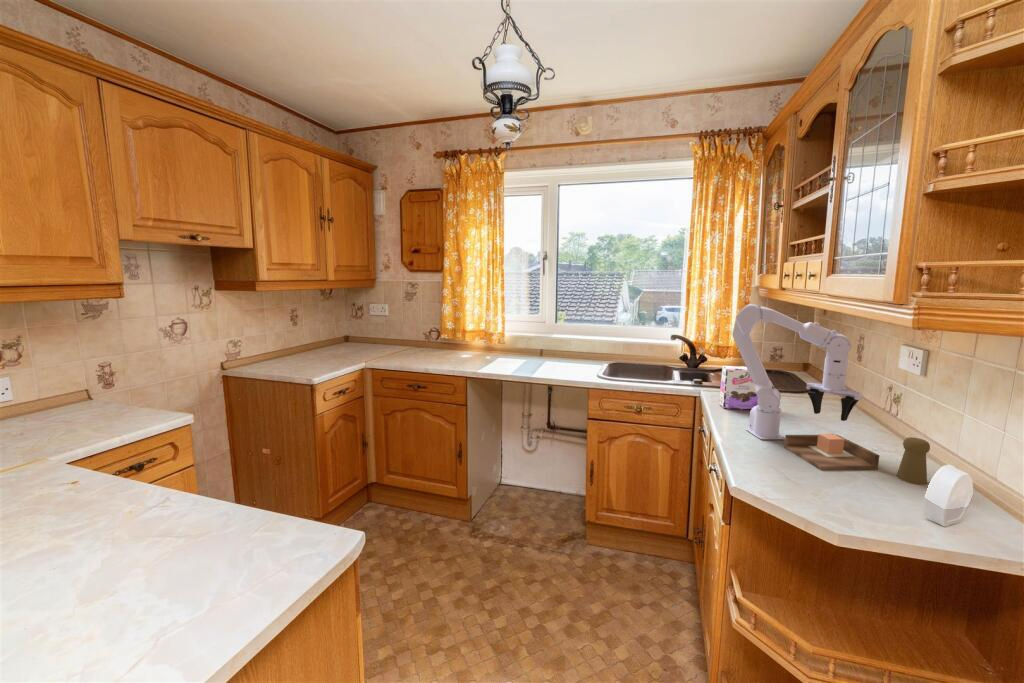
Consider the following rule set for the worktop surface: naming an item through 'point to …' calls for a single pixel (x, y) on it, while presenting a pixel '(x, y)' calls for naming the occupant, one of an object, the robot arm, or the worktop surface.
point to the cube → (830, 443)
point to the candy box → (737, 389)
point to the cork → (914, 461)
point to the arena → (848, 460)
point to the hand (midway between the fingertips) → (830, 416)
